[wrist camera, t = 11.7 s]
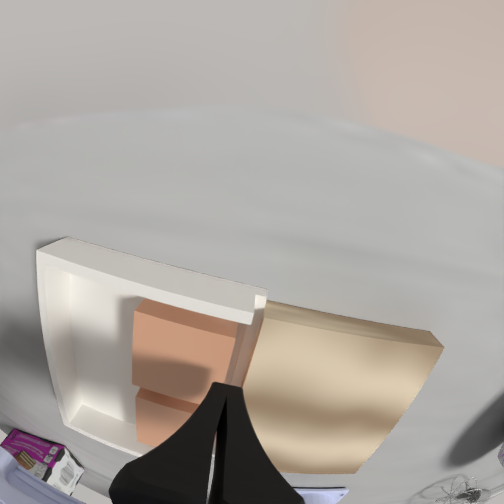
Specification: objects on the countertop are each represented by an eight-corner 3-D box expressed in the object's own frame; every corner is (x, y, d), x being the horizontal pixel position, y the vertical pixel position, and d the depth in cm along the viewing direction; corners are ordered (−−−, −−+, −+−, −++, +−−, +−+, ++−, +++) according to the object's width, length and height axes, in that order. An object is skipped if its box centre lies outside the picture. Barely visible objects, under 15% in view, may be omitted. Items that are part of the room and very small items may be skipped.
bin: (219, 447, 19) (214, 476, 16) (79, 402, 18) (64, 424, 16) (267, 289, 15) (267, 316, 12) (67, 236, 15) (36, 249, 12)
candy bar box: (64, 443, 21) (6, 545, 5) (86, 469, 22) (41, 565, 6) (11, 425, 22) (-43, 500, 6) (31, 450, 23) (-15, 524, 7)
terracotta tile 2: (221, 386, 16) (217, 408, 14) (143, 364, 16) (131, 384, 14) (239, 318, 15) (236, 338, 13) (148, 294, 15) (134, 310, 13)
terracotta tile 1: (210, 440, 18) (206, 460, 16) (145, 422, 18) (137, 441, 16) (222, 397, 17) (217, 419, 15) (145, 376, 16) (135, 396, 15)
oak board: (350, 456, 19) (354, 473, 17) (220, 443, 19) (217, 463, 17) (430, 331, 16) (444, 347, 14) (264, 299, 15) (264, 317, 13)
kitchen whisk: (474, 500, 28) (482, 518, 22) (423, 489, 23) (435, 522, 17) (497, 483, 26) (506, 501, 20) (460, 464, 22) (476, 496, 15)
